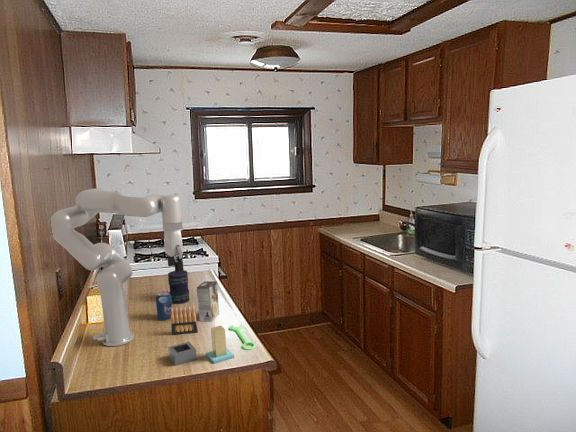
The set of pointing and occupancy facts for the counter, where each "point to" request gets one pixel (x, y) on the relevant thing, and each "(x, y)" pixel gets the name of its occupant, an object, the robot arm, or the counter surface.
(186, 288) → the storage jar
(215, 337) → the brass peg
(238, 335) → the wrench
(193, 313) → the ammunition clip
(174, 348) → the socket block
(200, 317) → the coffee box
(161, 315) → the soda can
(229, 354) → the teal board
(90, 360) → the counter surface
